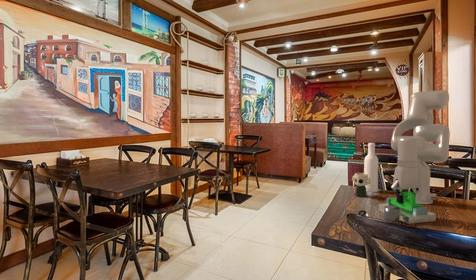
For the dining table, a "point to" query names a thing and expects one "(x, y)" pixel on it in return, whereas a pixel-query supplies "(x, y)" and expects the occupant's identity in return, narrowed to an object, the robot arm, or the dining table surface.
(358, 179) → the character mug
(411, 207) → the mechanical part
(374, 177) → the bottle
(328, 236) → the dining table surface
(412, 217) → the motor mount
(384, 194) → the dining table surface
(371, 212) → the dining table surface
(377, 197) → the dining table surface
